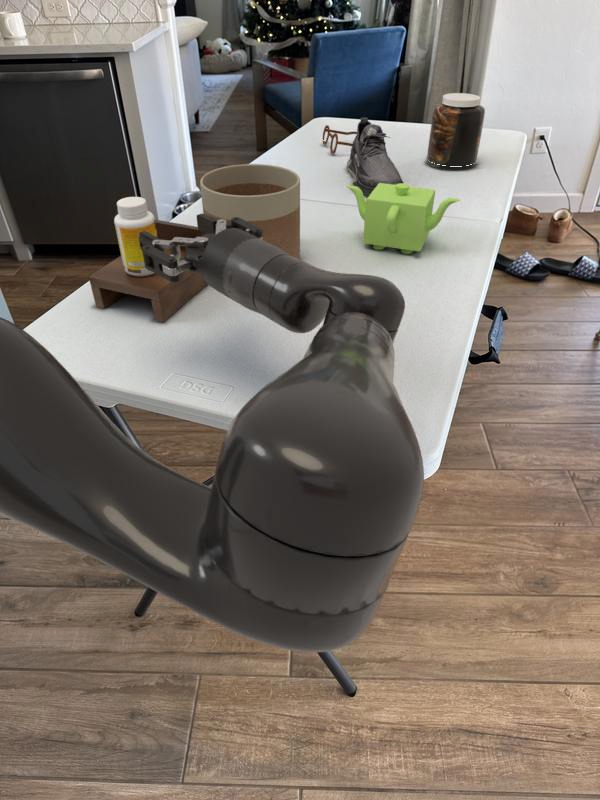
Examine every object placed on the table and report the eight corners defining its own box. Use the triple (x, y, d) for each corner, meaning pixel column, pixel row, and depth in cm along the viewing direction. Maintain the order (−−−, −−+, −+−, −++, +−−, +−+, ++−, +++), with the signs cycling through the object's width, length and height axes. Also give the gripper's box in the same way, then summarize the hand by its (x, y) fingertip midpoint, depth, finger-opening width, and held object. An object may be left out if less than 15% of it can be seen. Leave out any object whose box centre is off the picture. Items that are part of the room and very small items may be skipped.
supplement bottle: (169, 270, 86) (159, 202, 79) (135, 281, 83) (121, 211, 77) (151, 258, 89) (140, 191, 83) (118, 268, 86) (103, 200, 80)
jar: (455, 174, 137) (467, 104, 127) (417, 163, 143) (425, 96, 134) (484, 164, 143) (497, 97, 133) (446, 153, 149) (456, 89, 140)
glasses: (321, 143, 157) (321, 123, 154) (367, 140, 159) (368, 120, 156) (333, 157, 147) (334, 136, 144) (382, 154, 149) (384, 133, 146)
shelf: (163, 322, 84) (153, 265, 78) (95, 306, 87) (81, 250, 82) (210, 281, 94) (205, 227, 88) (148, 268, 97) (139, 216, 92)
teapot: (451, 251, 103) (462, 192, 96) (390, 268, 98) (397, 206, 91) (400, 222, 113) (406, 166, 107) (342, 235, 108) (345, 178, 102)
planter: (258, 233, 109) (255, 157, 100) (318, 260, 100) (320, 179, 91) (190, 259, 100) (179, 178, 92) (249, 290, 91) (244, 204, 83)
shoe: (363, 204, 121) (368, 144, 113) (338, 165, 142) (341, 112, 134) (411, 202, 122) (419, 142, 115) (379, 163, 143) (384, 110, 136)
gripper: (202, 323, 63) (127, 273, 73) (298, 282, 71) (219, 242, 80) (195, 259, 59) (116, 215, 68) (298, 223, 66) (214, 187, 75)
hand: (172, 229), depth 74 cm, fingers open, 8 cm apart
